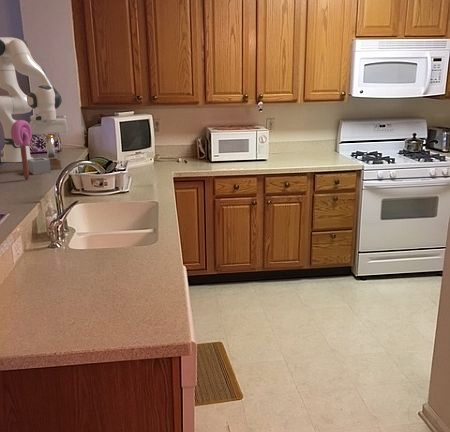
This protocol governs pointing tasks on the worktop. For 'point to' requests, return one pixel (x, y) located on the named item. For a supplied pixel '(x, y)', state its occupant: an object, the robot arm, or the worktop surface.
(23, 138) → the lollipop
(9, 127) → the robot arm
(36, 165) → the socket
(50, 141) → the pin
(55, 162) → the mount
